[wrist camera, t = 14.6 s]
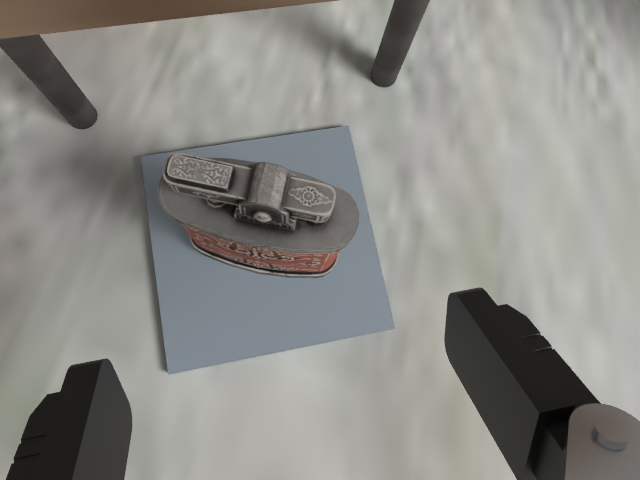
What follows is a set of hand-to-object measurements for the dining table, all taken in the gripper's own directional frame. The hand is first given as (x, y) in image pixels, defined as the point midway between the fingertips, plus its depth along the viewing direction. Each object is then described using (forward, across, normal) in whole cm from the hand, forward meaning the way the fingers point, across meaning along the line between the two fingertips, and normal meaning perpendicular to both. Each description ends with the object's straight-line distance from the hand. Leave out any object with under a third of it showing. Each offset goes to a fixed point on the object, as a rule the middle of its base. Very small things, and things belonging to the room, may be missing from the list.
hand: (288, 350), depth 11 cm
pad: (+14, 0, +6) cm, 16 cm away
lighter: (+14, 0, +6) cm, 15 cm away
